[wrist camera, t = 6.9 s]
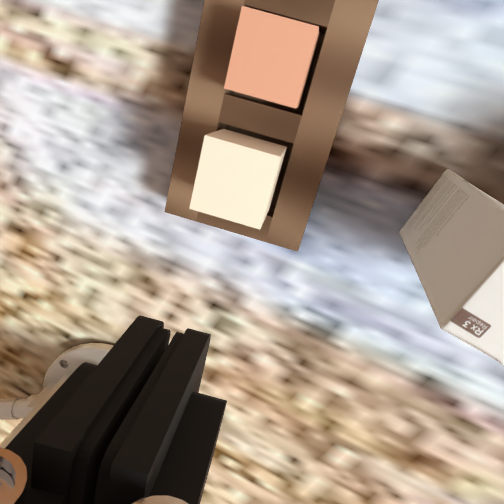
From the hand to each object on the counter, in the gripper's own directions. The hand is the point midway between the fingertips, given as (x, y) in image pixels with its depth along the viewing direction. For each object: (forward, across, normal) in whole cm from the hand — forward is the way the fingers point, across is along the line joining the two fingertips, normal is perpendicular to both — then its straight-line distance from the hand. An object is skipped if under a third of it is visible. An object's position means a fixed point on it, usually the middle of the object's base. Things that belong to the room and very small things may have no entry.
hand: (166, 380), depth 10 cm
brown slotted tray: (+24, +1, -9) cm, 26 cm away
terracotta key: (+23, +1, -9) cm, 25 cm away
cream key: (+21, +1, -2) cm, 21 cm away
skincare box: (+24, -15, -1) cm, 28 cm away
